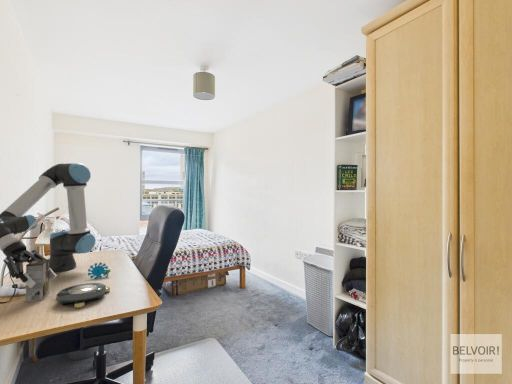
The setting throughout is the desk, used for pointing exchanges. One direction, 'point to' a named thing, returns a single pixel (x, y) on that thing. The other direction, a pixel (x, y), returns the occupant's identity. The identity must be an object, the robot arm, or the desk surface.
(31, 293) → the coffee box
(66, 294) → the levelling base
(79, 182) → the robot arm
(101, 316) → the desk surface
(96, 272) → the gear
